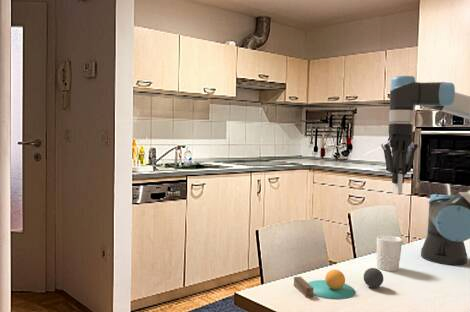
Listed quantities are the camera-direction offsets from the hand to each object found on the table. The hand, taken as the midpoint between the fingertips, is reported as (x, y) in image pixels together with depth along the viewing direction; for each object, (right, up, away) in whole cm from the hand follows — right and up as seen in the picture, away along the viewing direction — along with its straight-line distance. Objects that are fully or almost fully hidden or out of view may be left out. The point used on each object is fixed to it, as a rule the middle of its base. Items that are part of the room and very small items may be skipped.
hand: (397, 193), depth 153 cm
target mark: (-28, -25, -25) cm, 45 cm away
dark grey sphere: (-15, -23, -22) cm, 35 cm away
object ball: (-26, -22, -25) cm, 43 cm away
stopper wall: (-36, -25, -27) cm, 51 cm away
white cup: (-5, -25, -4) cm, 25 cm away
